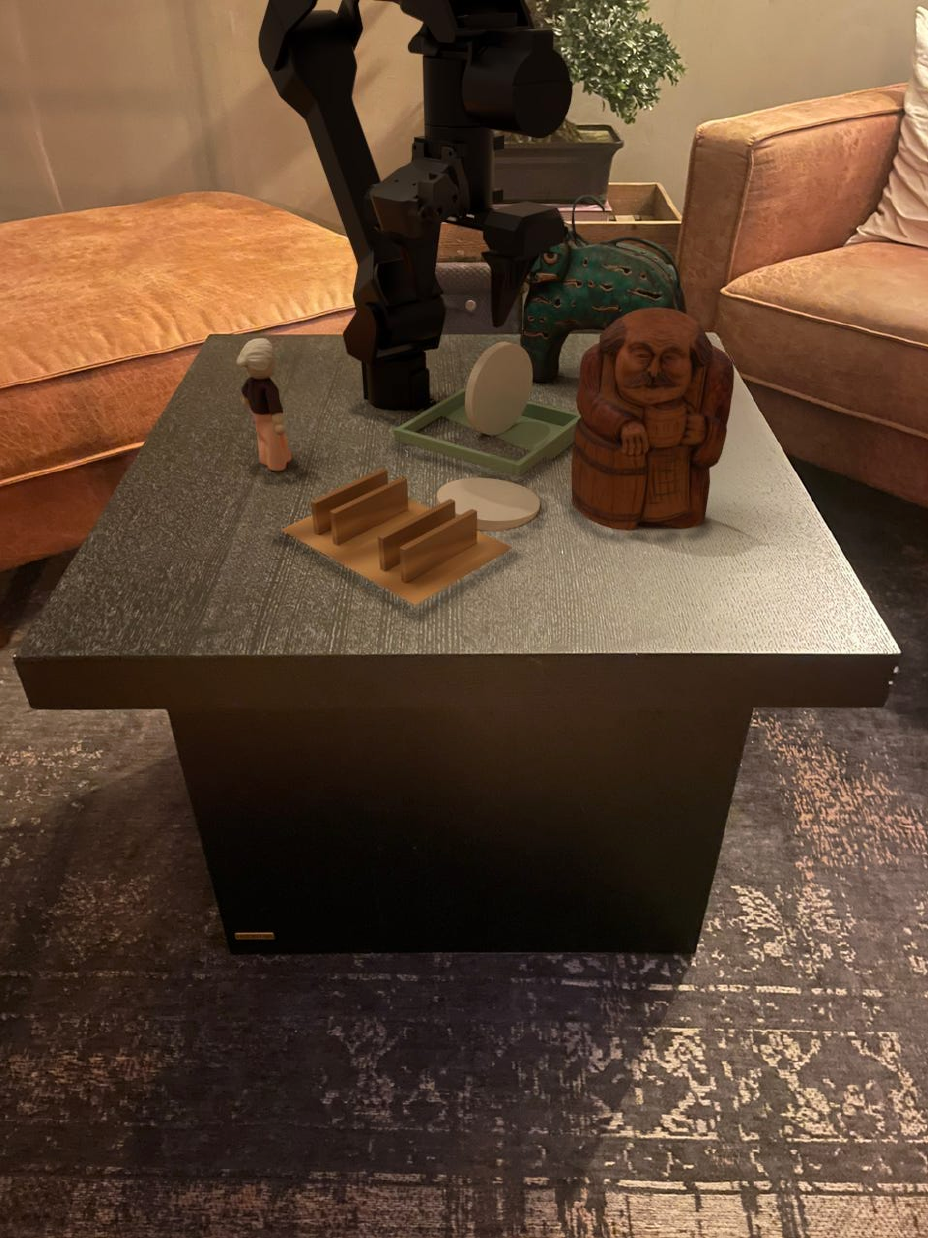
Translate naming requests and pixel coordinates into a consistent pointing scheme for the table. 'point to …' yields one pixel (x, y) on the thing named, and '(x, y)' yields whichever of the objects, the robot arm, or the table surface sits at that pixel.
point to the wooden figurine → (650, 422)
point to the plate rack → (396, 537)
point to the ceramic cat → (591, 291)
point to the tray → (533, 431)
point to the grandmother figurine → (265, 403)
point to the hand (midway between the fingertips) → (460, 315)
